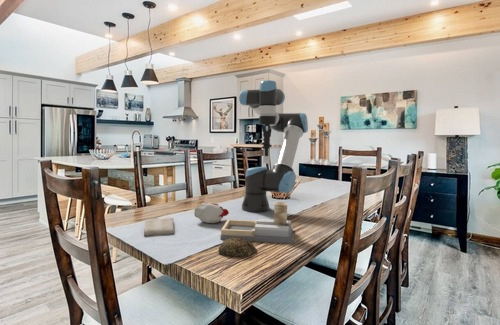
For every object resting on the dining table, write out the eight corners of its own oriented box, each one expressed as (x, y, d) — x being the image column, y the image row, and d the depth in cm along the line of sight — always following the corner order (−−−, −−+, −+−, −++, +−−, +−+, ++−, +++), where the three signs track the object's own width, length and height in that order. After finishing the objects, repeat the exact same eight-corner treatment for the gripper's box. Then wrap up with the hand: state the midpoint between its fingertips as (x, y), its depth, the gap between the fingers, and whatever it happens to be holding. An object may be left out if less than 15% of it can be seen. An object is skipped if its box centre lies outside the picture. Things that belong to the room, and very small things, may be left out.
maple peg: (272, 234, 113) (273, 204, 112) (272, 229, 119) (273, 201, 118) (287, 235, 113) (288, 205, 112) (287, 230, 119) (288, 202, 118)
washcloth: (173, 222, 133) (173, 215, 132) (175, 235, 116) (174, 227, 115) (146, 224, 129) (145, 217, 129) (143, 237, 112) (143, 229, 112)
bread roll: (213, 254, 97) (213, 240, 96) (229, 242, 108) (229, 229, 108) (248, 261, 92) (249, 246, 92) (261, 248, 104) (261, 234, 103)
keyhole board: (220, 239, 111) (220, 226, 110) (228, 226, 126) (228, 215, 126) (293, 243, 107) (294, 231, 107) (292, 230, 123) (292, 219, 123)
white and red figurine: (192, 221, 132) (217, 219, 142) (206, 226, 124) (232, 224, 134) (194, 201, 132) (219, 201, 142) (209, 205, 124) (234, 205, 134)
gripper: (260, 116, 144) (259, 159, 146) (257, 114, 119) (257, 164, 122) (275, 117, 143) (274, 159, 146) (275, 114, 119) (274, 165, 121)
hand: (266, 161), depth 134 cm, fingers open, 13 cm apart
